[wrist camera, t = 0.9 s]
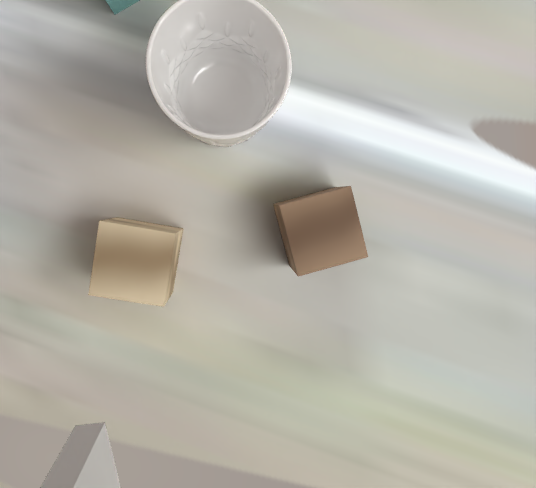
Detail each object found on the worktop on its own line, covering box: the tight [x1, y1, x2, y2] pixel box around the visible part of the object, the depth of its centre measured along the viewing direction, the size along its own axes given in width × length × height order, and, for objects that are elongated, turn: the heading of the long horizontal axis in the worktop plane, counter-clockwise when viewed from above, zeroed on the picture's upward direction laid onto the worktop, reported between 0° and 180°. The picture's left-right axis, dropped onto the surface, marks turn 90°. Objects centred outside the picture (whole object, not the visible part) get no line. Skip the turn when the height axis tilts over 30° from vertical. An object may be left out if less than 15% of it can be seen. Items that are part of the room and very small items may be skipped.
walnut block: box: [273, 186, 368, 276], centre depth 35 cm, size 5×5×5 cm
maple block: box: [88, 217, 183, 307], centre depth 34 cm, size 5×5×5 cm
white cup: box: [146, 0, 292, 147], centre depth 31 cm, size 8×8×10 cm
